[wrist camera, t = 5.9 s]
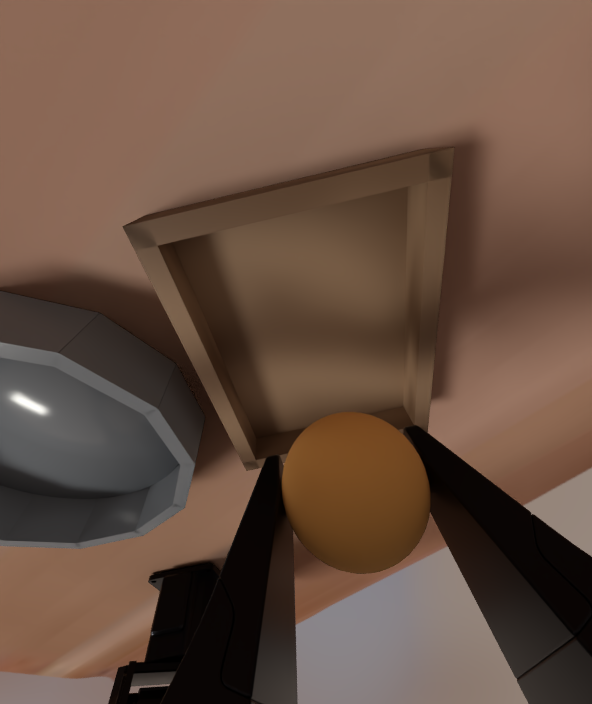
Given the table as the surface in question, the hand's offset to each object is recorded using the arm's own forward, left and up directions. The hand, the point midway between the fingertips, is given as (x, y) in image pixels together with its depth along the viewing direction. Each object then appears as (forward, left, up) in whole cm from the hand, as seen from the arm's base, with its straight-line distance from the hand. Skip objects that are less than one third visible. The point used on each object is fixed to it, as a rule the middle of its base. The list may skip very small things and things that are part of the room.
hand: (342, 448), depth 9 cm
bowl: (-2, +15, -7) cm, 17 cm away
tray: (0, 0, -7) cm, 7 cm away
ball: (0, 0, -1) cm, 1 cm away
